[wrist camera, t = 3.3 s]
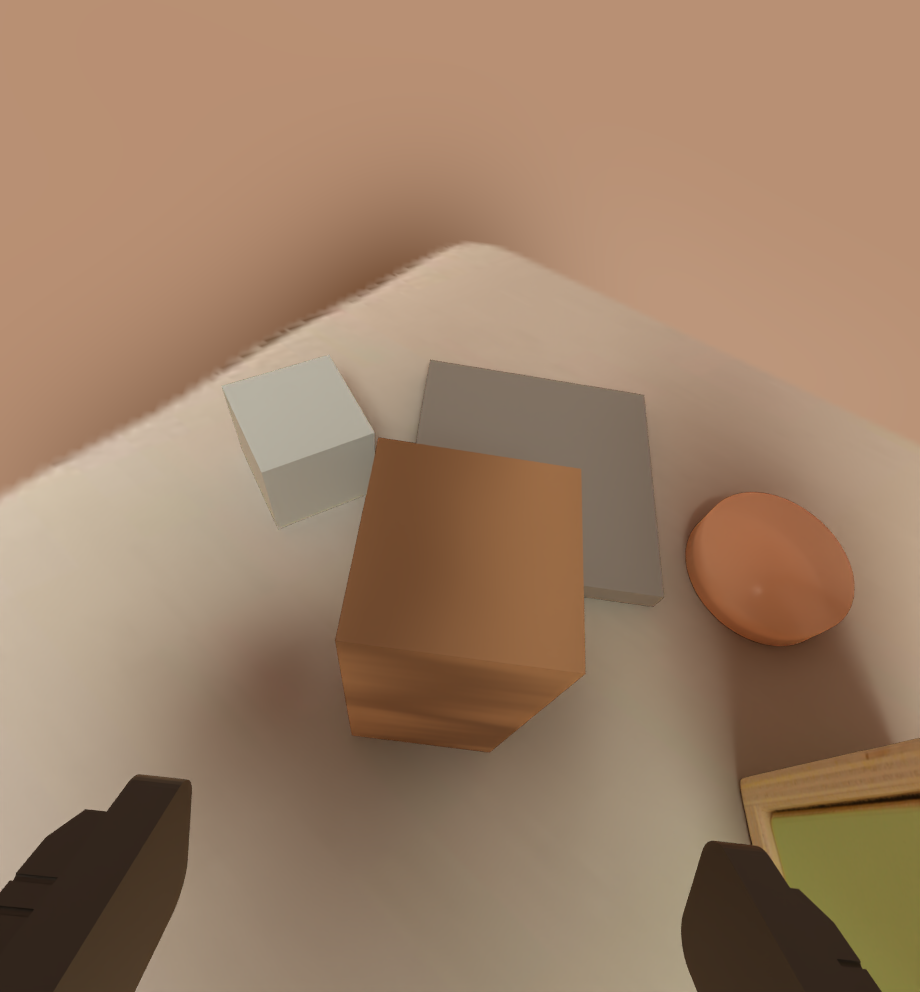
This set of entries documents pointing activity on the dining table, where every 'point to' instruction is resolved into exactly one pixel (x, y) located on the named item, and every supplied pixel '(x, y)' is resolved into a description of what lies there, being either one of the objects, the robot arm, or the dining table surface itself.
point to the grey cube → (302, 438)
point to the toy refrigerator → (851, 849)
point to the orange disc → (769, 569)
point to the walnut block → (461, 596)
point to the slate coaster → (563, 460)
